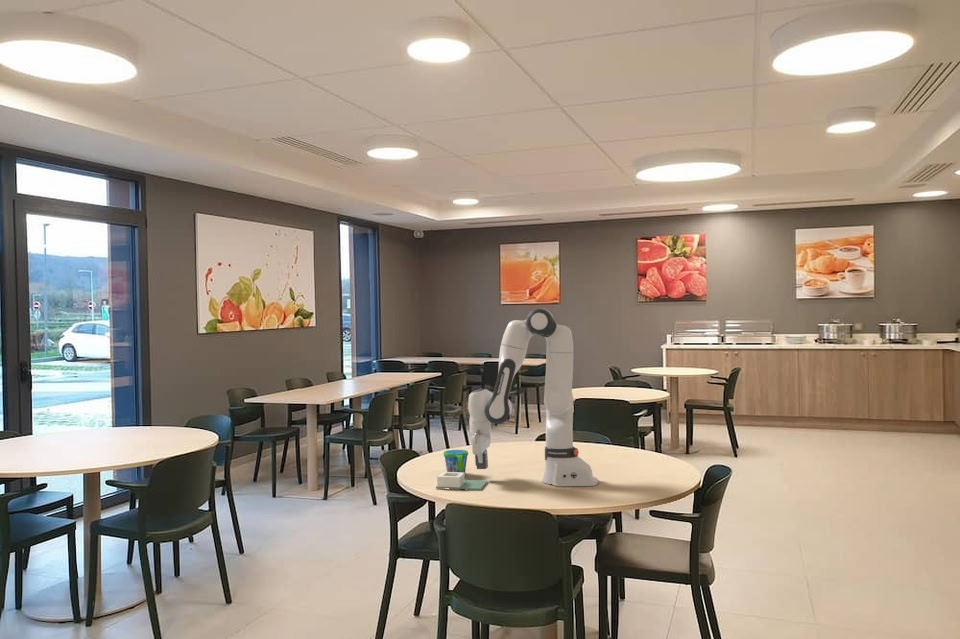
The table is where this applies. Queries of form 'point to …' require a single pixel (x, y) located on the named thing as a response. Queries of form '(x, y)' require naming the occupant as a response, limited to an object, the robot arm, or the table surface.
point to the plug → (485, 461)
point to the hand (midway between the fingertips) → (482, 461)
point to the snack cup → (456, 460)
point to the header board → (470, 485)
